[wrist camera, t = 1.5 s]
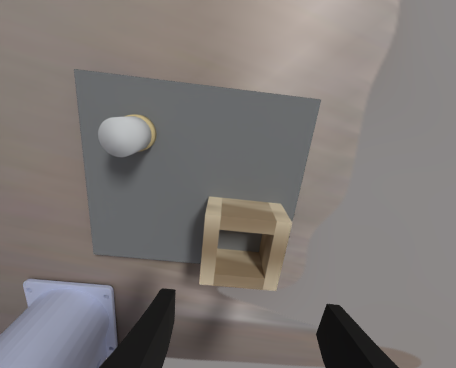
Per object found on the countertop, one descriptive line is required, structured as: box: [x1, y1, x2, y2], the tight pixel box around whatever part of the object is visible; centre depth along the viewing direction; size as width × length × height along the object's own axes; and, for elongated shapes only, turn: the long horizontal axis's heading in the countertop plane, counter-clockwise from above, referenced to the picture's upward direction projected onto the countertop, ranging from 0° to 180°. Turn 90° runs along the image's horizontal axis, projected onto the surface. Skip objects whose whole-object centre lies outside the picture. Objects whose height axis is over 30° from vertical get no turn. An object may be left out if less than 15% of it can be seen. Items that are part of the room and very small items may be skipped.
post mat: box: [74, 69, 321, 264], centre depth 15 cm, size 14×16×4 cm
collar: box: [199, 196, 292, 291], centre depth 16 cm, size 6×6×3 cm
